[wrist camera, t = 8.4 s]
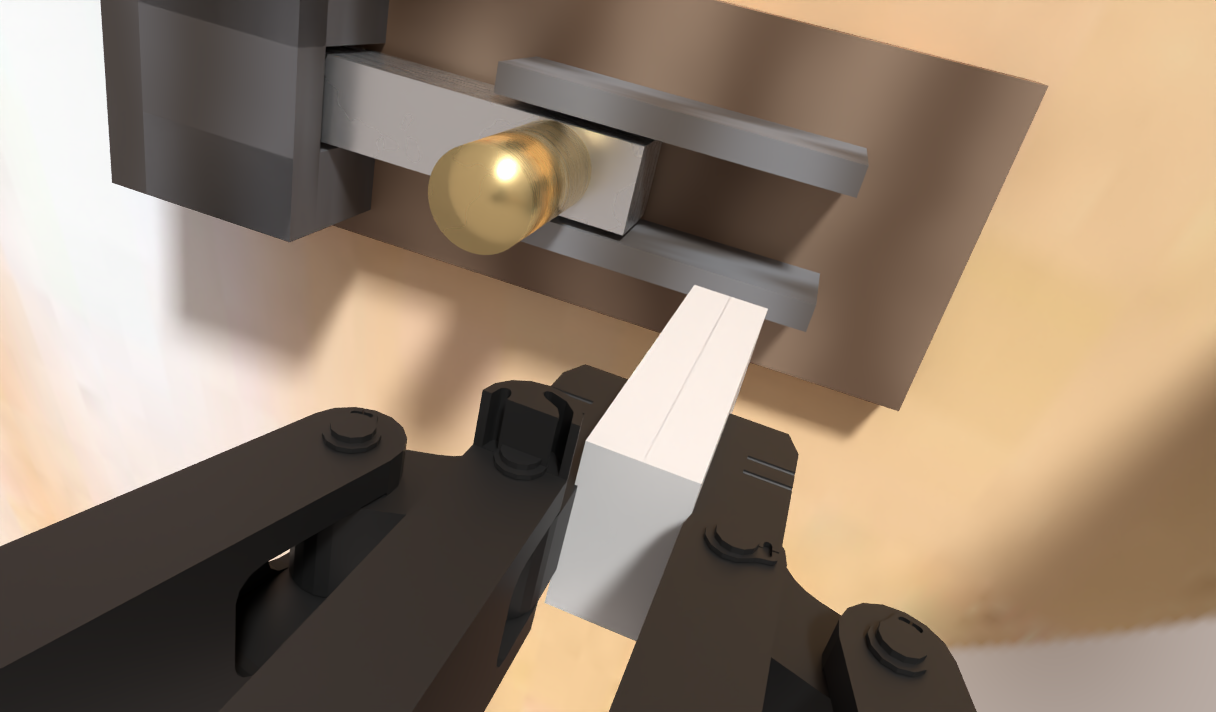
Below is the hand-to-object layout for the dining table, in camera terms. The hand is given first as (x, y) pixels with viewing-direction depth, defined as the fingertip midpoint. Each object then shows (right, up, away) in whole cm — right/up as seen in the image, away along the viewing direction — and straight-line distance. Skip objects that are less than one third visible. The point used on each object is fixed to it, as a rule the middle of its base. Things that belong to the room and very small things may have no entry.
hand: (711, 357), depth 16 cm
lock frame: (-3, +9, +15) cm, 18 cm away
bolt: (-8, +9, +14) cm, 18 cm away
